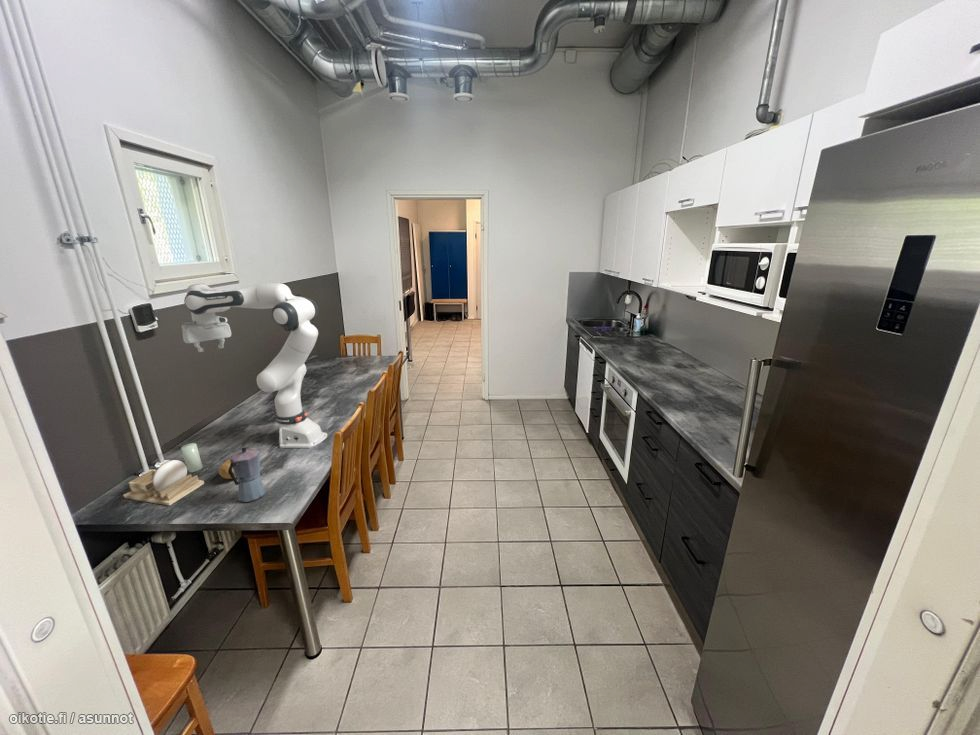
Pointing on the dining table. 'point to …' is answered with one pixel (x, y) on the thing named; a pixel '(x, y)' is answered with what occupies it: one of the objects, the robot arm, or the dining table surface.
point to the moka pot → (247, 474)
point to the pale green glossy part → (191, 457)
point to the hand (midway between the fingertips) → (211, 350)
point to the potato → (226, 470)
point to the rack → (163, 484)
